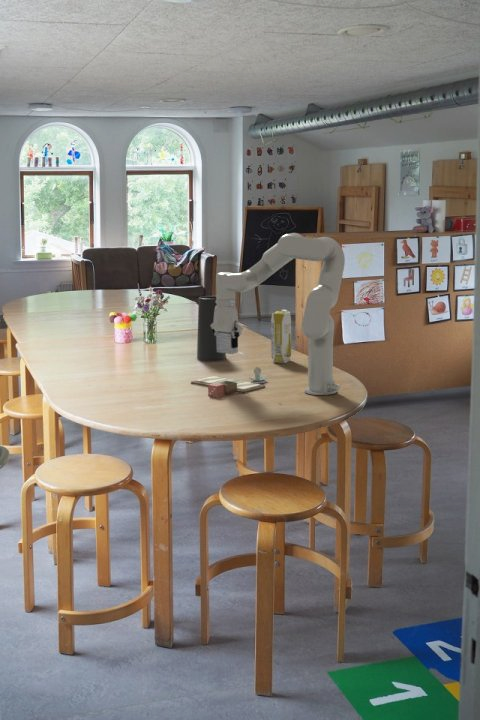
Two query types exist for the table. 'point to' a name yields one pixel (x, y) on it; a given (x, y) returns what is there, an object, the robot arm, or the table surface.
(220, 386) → the die
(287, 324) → the juice carton
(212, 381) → the board
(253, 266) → the robot arm
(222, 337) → the medicine box
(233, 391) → the stand
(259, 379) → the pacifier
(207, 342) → the dark tapered cylinder
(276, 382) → the table surface
